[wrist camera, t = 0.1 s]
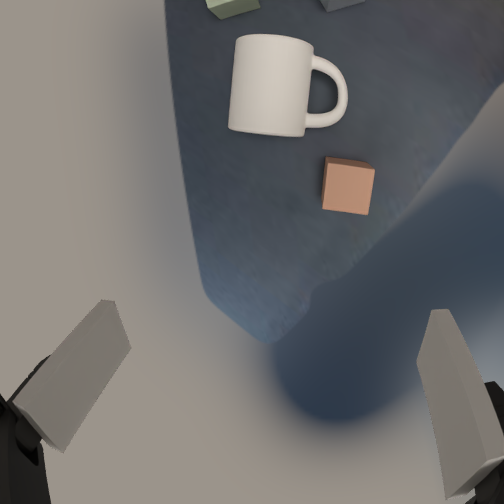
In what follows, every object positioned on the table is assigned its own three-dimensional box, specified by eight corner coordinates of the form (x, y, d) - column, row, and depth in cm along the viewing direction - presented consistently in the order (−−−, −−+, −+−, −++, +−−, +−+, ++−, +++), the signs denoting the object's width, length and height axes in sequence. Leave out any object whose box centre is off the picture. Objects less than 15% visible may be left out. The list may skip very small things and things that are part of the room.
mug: (237, 126, 35) (218, 130, 28) (244, 47, 31) (227, 32, 24) (338, 139, 34) (346, 146, 27) (348, 59, 30) (358, 45, 22)
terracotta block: (325, 156, 35) (327, 163, 31) (366, 162, 34) (374, 169, 30) (321, 196, 37) (322, 208, 33) (361, 202, 37) (367, 215, 32)
